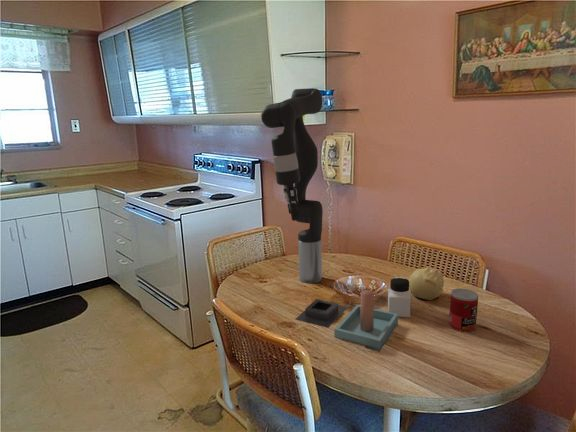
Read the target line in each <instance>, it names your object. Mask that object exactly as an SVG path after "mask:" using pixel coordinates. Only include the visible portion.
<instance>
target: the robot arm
mask: <svg viewBox="0 0 576 432" xmlns="http://www.w3.org/2000/svg"><path fill="white" fill-rule="evenodd" d="M322 108H323V94H322V92H321V91H320V90H319V89H318V88H310V87H309V88H308V87H307V88H296V89H293V91H292V93H291V97H290V98H288V99H285V100H282V101H280V102H275V103H271V104H267V105H265V106H264V107H263V109H262V111H261V114H260V117H261V122H262V123H263V125H264V126H265V127H267V128H270V129H276V128H283V131H282V133H280V134H277V135H274V136H273V137H272V138H271V148H272V154H273V167H274V173H275V179H276V183H277V185H280V186H283V188H282V190H283V191H282V192H283V194H284V199H285V201H286V204H287V209H288V213H289V215H290V217H291V221H293V222H294V221H295V222H297V223H303V224H309V227H308V229H304V230H301V231H299V232H298V234H297V239H298V240H297V241H298V242H297V245H298V279H299V282H301V283H305V284H316V283H319V282H321V281H322V277H323V270H322V269H323V261H322V259H323V257H322V233H323V215H324V214H323V211H324V210H323V205H322V203H321V201H319V200H313V199H311V200H310V199H306V194H307V188H308V186H309V183H310V181H311V179H312V178H313V177H314V175H315V173H316V171H317V169H318V166H319V165H318V162H319V161H318V160H319V159H318V157H319V156H318V155H319V154H318V152H319V151H318V148H317V145H316V144H315V141H314V140H313V138H312V137H311V135H310V133H309V132H308V130H307V128H306V125H305V122H304V118H303V116H305V115H314V114H317V113H319V112H320V111H321V110H322Z"/></svg>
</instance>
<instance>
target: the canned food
mask: <svg viewBox="0 0 576 432" xmlns="http://www.w3.org/2000/svg"><path fill="white" fill-rule="evenodd" d="M478 306H479V294H478V293H477V292H476V291H474V290H472V289H468V288H455V289H452V290H451V293H450V305H449V320H448V321H449V326H450V327H451V326H452V327H451V328H453V329H454V328H455V329H454V330H456V329H458V330H457V331H459V330H461V331H460V332H464V331H469V332H472V330H473V331H474V330H475V328H476V327H477V318H478V317H477V316H478V308H479V307H478Z"/></svg>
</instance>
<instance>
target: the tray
mask: <svg viewBox="0 0 576 432" xmlns="http://www.w3.org/2000/svg"><path fill="white" fill-rule="evenodd" d="M360 312H361V305H358V304H356V305H355V306H354V307H353V308H352V309H351V311H350V312H349V313H348V314H347V315H346V316H345V317H344V318H343V320H341V321H340V323H338V325H337V326H336V327H335V328H334V335H333V337H334V338H337V339H341V340H343V341H344V340H345V341H347V342H352V343H356V344H360V345H364V349H367V350H371V351H375V352H378V353H381V351H382V349H383V348H384V346H385V344H386V343H387V342H388V340H389V339H390V337H391V335H392V334H393V333H394V331H395V330H396V327H397V326H398V325H399V317H398V314H396V313H391V312H388V310H381V309H378V308H377V309H376V308H374V328H373V331H371V332H364V331H362V330H361V329H360Z"/></svg>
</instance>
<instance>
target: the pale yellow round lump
mask: <svg viewBox="0 0 576 432" xmlns="http://www.w3.org/2000/svg"><path fill="white" fill-rule="evenodd" d="M408 280H409V290H410V294H411V295H413V296H415V297H416V298H419V299H422V300H427V301H429V300H430V301H431V300H435V299H436V298H438V297H440V295H442V292H443V291H444V289H443V288H444V287H445V285H444V283H445V282H444V281H445V280H444V275H443V272H441V271H439V270H438V269H437V268H433V267H429V266H426V267H425V268H423V267H422V268H418V269H415V270H414V271H413V272H412V273H411V274H410V277H409V279H408Z"/></svg>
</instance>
